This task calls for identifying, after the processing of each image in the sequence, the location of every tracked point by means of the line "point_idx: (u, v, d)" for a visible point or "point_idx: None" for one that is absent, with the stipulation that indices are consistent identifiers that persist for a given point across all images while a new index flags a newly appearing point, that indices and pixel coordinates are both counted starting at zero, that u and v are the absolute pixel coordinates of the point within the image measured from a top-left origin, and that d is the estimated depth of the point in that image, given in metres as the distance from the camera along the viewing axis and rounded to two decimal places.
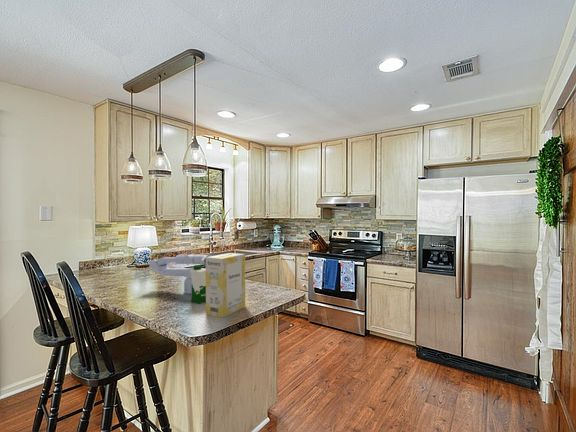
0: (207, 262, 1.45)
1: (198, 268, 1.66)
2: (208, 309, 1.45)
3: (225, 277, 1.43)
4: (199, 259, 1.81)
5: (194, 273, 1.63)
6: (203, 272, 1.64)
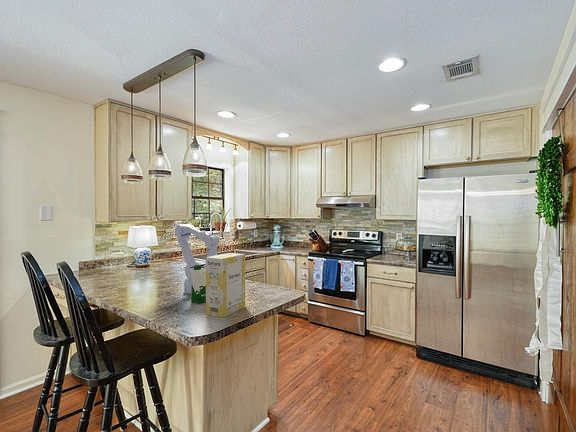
0: (207, 262, 1.45)
1: (198, 268, 1.66)
2: (208, 309, 1.45)
3: (225, 277, 1.43)
4: None
5: (194, 273, 1.63)
6: (203, 272, 1.64)
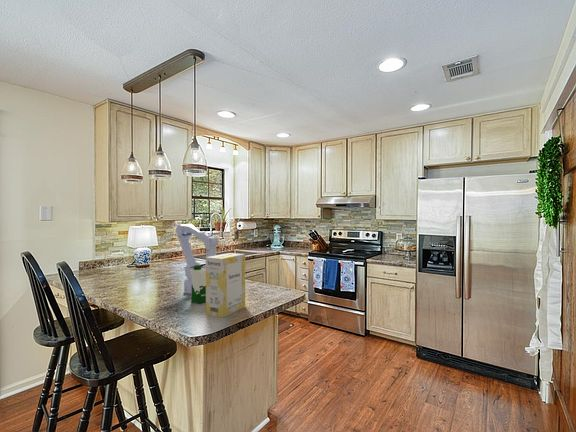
0: (207, 262, 1.45)
1: (198, 268, 1.66)
2: (208, 309, 1.45)
3: (225, 277, 1.43)
4: None
5: (194, 273, 1.63)
6: (203, 272, 1.64)
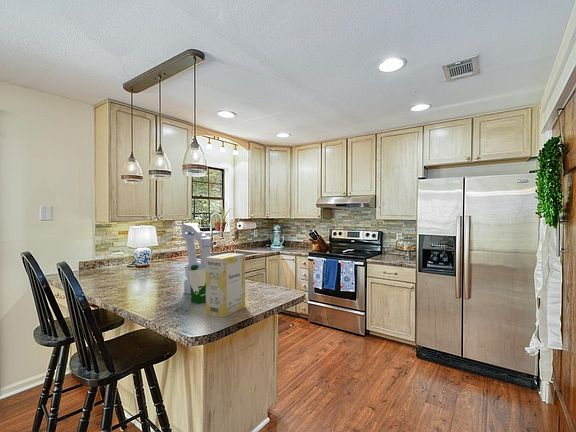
0: (207, 262, 1.45)
1: (195, 268, 1.65)
2: (208, 309, 1.45)
3: (225, 277, 1.43)
4: (203, 259, 1.69)
5: (192, 274, 1.62)
6: (201, 272, 1.62)
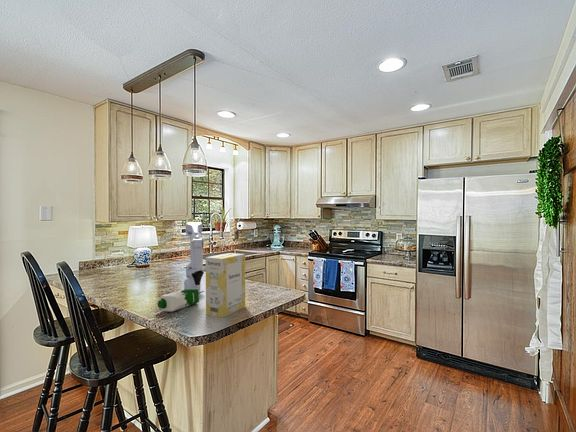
0: (207, 262, 1.45)
1: (165, 305, 1.48)
2: (208, 309, 1.45)
3: (225, 277, 1.43)
4: (195, 261, 1.62)
5: None
6: (173, 305, 1.47)
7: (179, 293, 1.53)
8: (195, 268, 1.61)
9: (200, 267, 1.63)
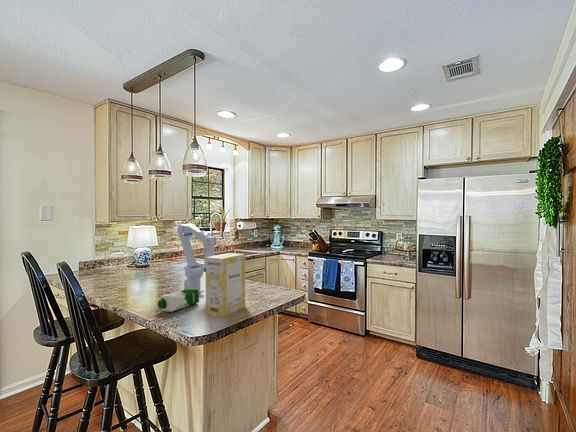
0: (207, 262, 1.45)
1: (165, 305, 1.48)
2: (208, 309, 1.45)
3: (225, 277, 1.43)
4: None
5: None
6: (173, 305, 1.47)
7: (179, 293, 1.53)
8: None
9: None
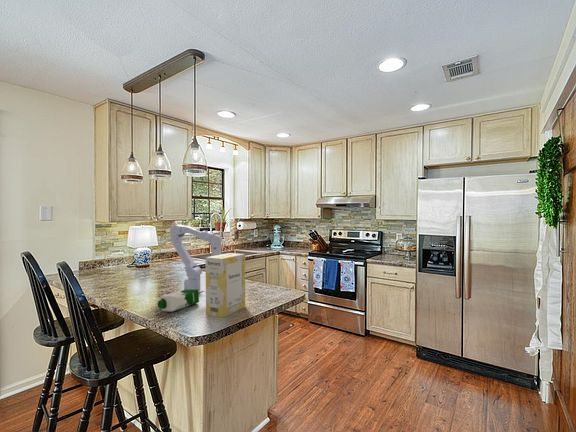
0: (207, 262, 1.45)
1: (165, 305, 1.48)
2: (208, 309, 1.45)
3: (225, 277, 1.43)
4: (214, 255, 1.81)
5: None
6: (173, 305, 1.47)
7: (179, 293, 1.53)
8: None
9: None
